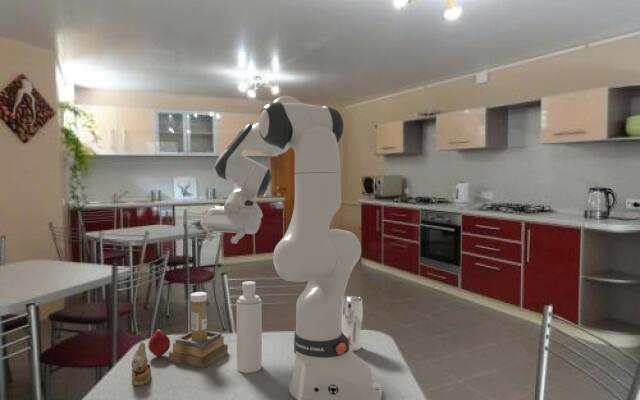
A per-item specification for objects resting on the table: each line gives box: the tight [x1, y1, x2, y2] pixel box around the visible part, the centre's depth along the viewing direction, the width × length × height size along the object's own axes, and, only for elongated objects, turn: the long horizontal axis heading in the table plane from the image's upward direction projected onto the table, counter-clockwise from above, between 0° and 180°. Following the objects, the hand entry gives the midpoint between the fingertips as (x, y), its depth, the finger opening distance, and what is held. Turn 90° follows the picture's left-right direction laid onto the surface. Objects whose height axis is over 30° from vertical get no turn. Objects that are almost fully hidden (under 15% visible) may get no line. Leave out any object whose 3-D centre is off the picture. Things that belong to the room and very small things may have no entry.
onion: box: [147, 329, 171, 358], centre depth 127 cm, size 6×6×8 cm
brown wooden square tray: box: [168, 330, 229, 369], centre depth 128 cm, size 12×11×6 cm
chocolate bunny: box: [131, 341, 152, 387], centre depth 113 cm, size 6×8×10 cm
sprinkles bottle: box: [190, 291, 208, 342], centre depth 127 cm, size 5×5×14 cm
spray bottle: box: [236, 280, 263, 374], centre depth 120 cm, size 7×7×25 cm
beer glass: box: [342, 295, 364, 352], centre depth 135 cm, size 7×7×15 cm
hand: (220, 241), depth 140 cm, fingers open, 8 cm apart
